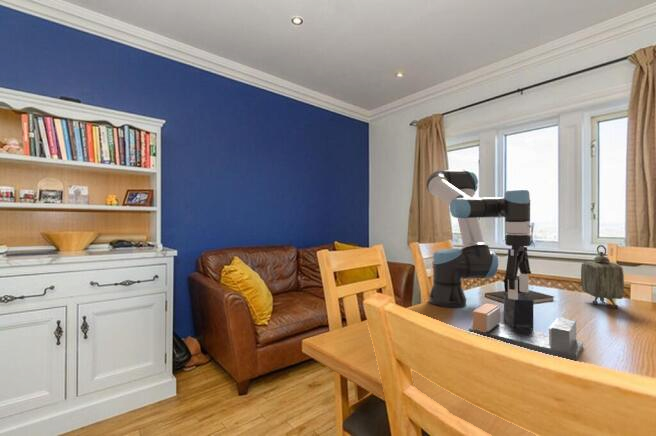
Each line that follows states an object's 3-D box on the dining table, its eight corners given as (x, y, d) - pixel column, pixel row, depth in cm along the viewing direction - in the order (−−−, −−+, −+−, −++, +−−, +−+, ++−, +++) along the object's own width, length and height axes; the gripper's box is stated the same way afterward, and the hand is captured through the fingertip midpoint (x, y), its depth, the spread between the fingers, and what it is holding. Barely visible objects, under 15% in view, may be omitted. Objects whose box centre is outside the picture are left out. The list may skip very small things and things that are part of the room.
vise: (468, 333, 104) (468, 310, 104) (482, 323, 112) (482, 302, 112) (576, 360, 84) (576, 332, 84) (582, 346, 92) (582, 321, 92)
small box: (535, 331, 104) (535, 300, 104) (513, 330, 106) (513, 299, 106) (522, 320, 115) (522, 292, 115) (502, 319, 116) (502, 291, 116)
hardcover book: (554, 301, 140) (554, 296, 140) (513, 306, 133) (513, 301, 133) (522, 293, 155) (522, 288, 155) (484, 297, 148) (484, 292, 148)
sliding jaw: (472, 329, 103) (472, 311, 103) (486, 320, 111) (485, 303, 111) (487, 333, 99) (487, 314, 99) (500, 323, 108) (500, 305, 108)
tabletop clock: (623, 310, 124) (623, 247, 124) (596, 308, 127) (595, 246, 127) (604, 300, 138) (604, 243, 138) (580, 299, 141) (579, 243, 141)
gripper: (519, 236, 98) (520, 304, 98) (539, 232, 116) (539, 290, 116) (493, 235, 104) (494, 300, 104) (516, 232, 121) (516, 287, 121)
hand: (518, 295), depth 110 cm, fingers open, 13 cm apart
